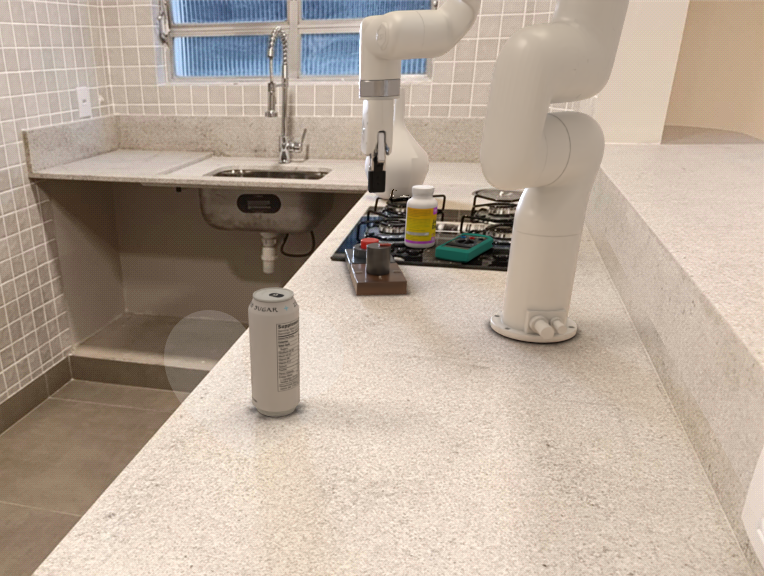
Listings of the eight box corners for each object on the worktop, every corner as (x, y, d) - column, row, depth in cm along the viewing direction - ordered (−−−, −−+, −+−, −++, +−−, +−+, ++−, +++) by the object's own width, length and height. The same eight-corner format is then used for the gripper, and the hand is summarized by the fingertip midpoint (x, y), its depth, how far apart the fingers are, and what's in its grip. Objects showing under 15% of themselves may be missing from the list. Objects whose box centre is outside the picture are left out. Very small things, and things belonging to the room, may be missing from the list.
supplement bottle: (434, 249, 152) (439, 189, 147) (404, 249, 153) (407, 189, 148) (434, 241, 158) (438, 184, 152) (404, 241, 159) (407, 184, 154)
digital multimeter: (494, 248, 152) (495, 234, 150) (467, 264, 141) (468, 250, 140) (461, 244, 156) (463, 231, 154) (433, 259, 145) (434, 245, 144)
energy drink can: (272, 392, 92) (268, 282, 85) (309, 404, 88) (309, 291, 82) (242, 410, 87) (236, 296, 81) (280, 423, 84) (277, 305, 77)
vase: (360, 202, 200) (364, 90, 188) (366, 190, 216) (370, 86, 204) (426, 203, 196) (434, 88, 183) (427, 191, 212) (434, 85, 199)
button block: (395, 272, 138) (396, 253, 136) (349, 274, 138) (349, 254, 136) (387, 257, 148) (388, 239, 146) (344, 259, 148) (345, 240, 146)
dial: (367, 275, 128) (368, 247, 126) (364, 268, 132) (365, 241, 130) (391, 275, 128) (392, 246, 126) (388, 268, 132) (389, 240, 130)
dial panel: (406, 294, 125) (407, 280, 124) (356, 295, 126) (356, 281, 125) (396, 275, 136) (397, 261, 135) (350, 276, 137) (350, 263, 136)
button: (379, 250, 140) (380, 241, 139) (361, 251, 140) (361, 242, 139) (377, 245, 143) (377, 237, 142) (359, 246, 143) (360, 238, 142)
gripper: (354, 89, 135) (353, 186, 143) (363, 93, 122) (361, 199, 130) (393, 88, 135) (389, 185, 143) (406, 91, 122) (401, 198, 129)
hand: (376, 191), depth 136 cm, fingers closed
